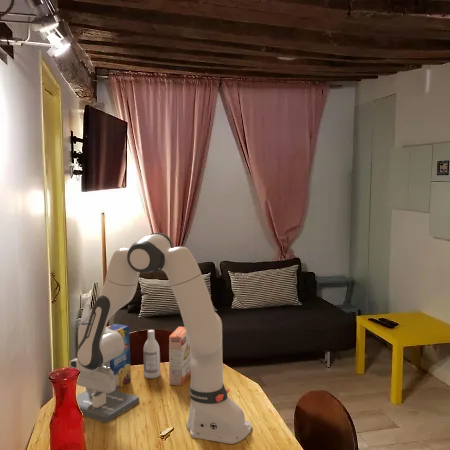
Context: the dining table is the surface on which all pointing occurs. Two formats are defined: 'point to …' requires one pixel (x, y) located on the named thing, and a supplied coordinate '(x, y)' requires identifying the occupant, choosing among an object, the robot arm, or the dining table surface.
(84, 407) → the console board
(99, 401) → the ivory knob
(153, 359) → the bath foam
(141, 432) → the dining table surface
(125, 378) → the juice carton
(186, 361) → the cracker box
